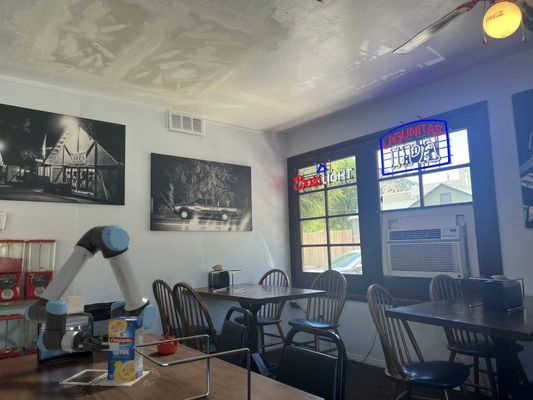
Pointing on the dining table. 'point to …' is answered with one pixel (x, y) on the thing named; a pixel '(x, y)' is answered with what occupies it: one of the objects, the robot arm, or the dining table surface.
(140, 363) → the blue cardboard box
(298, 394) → the dining table surface
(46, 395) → the dining table surface
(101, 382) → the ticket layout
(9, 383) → the dining table surface
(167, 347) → the pomegranate
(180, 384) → the dining table surface
